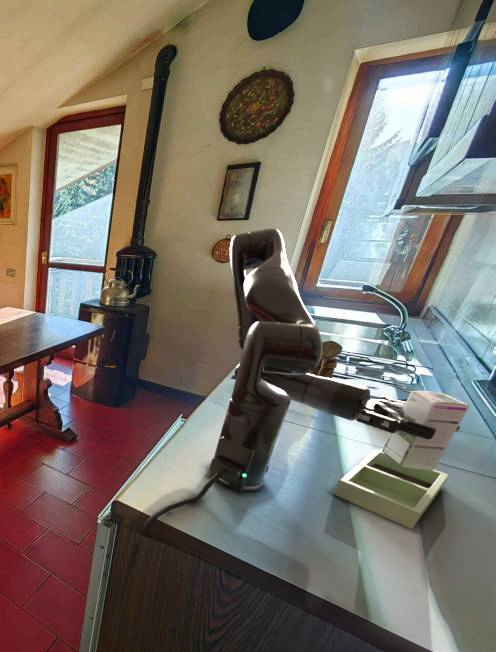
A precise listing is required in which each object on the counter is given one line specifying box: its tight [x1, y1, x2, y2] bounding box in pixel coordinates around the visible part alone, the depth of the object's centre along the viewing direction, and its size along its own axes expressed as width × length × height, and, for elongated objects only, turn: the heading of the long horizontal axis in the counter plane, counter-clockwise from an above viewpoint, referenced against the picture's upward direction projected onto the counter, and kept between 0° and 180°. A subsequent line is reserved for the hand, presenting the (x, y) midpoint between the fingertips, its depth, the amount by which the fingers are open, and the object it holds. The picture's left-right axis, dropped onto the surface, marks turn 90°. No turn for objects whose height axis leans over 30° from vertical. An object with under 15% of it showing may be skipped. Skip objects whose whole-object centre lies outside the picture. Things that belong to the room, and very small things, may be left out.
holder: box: [333, 449, 450, 530], centre depth 78 cm, size 21×11×4 cm, turn 123°
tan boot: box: [308, 340, 343, 379], centre depth 123 cm, size 9×14×18 cm, turn 140°
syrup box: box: [381, 390, 470, 470], centre depth 76 cm, size 6×6×14 cm
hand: (439, 428), depth 74 cm, fingers closed on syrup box, 8 cm apart
